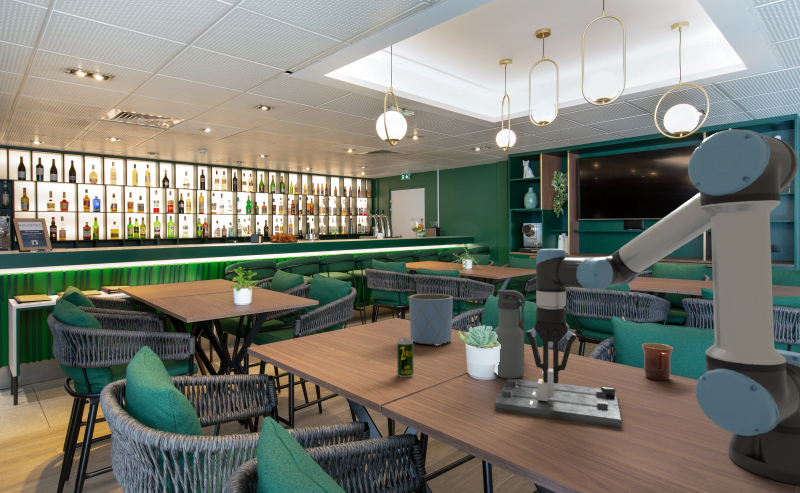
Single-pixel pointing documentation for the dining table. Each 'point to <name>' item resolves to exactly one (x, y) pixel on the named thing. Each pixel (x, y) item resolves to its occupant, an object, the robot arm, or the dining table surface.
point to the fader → (542, 390)
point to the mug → (657, 361)
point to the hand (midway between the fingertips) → (550, 394)
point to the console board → (561, 402)
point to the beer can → (405, 357)
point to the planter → (431, 318)
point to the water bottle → (510, 335)
